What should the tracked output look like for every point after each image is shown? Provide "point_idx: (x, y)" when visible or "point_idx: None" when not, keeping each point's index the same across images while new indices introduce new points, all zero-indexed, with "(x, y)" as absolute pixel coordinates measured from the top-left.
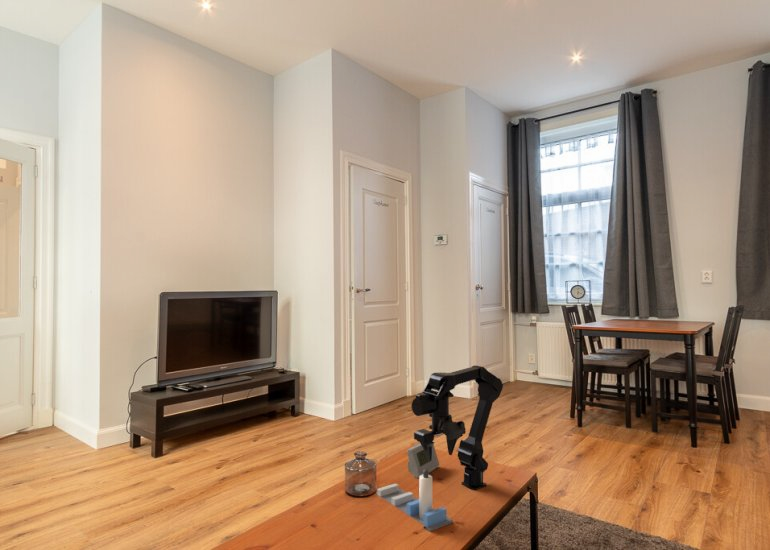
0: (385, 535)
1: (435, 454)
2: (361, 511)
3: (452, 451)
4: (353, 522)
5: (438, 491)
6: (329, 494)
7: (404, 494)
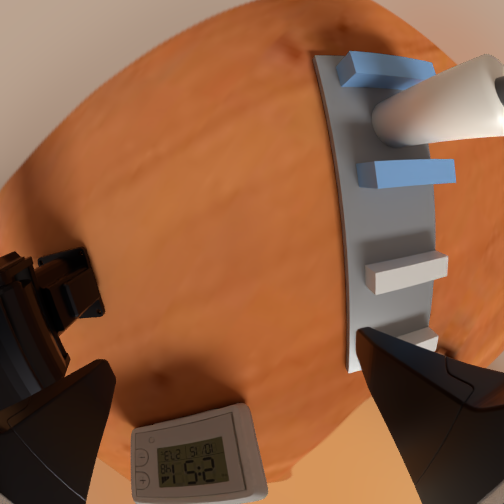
0: None
1: (134, 459)
2: (485, 273)
3: (78, 373)
4: None
5: (216, 302)
6: None
7: (404, 280)
